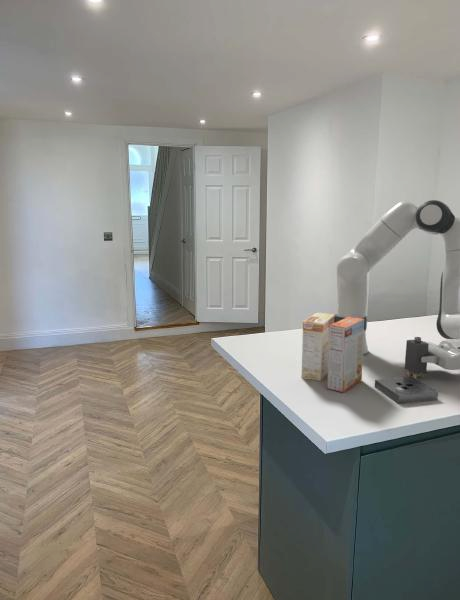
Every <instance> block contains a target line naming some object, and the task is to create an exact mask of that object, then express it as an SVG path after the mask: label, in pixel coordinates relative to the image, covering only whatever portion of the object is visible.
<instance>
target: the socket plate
mask: <svg viewBox="0 0 460 600" xmlns="http://www.w3.org/2000/svg"><path fill="white" fill-rule="evenodd" d="M374 388H375V389H377V391H380V392H381V393H382V394H383V395H385V396H387V398H389V399H390V400H392V401H394V402H395V403H396V404H398V405H400V404H402V405H403V404H409V403H420V402H427V401H428V402H430V401H438V400H439V391H438V390H437V389H434V388H433V387H431V386H430V385H428V384H426V383H424V382H422V381H421V380H419V379H418V378H416V379H415V378H414V377H413V375H412V376H411V375H410V376H401V377H391V378H390V377H389V378H380V379H374Z"/></svg>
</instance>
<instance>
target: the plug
mask: <svg viewBox="0 0 460 600" xmlns="http://www.w3.org/2000/svg"><path fill="white" fill-rule="evenodd" d="M426 342H427V341H426ZM426 342H423V340H422V337H421V336H415V337H414V339H406V344H405V345H406V346H405V358H404V359H405V360H404V369H405V370H406V375H407V376H408V377H410V376H411V373H412V377H414V378H415V379H417V377H421V374H427V369H428V368H427V367H428V362H421V361H419V359H420V358H419V357H420V356H428V347H429V344H428V343H426Z"/></svg>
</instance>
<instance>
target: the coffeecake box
mask: <svg viewBox="0 0 460 600" xmlns="http://www.w3.org/2000/svg"><path fill="white" fill-rule="evenodd" d="M334 314H335V313H334ZM334 314H332V313H325V312H315V313H314V314H312V315H311V316H309V317H308V318H307V319H305V320H303V321H302V344H301V345H302V347H301V348H302V349H301V350H302V353H301V379H305V380H311V379H312V380H313V381H317V382H321V381H322V380H323V379H324V378H325V377H327V376H328V345H329V325H331V324H333V323H334V317H335V315H336V314H335V315H334Z"/></svg>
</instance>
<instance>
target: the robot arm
mask: <svg viewBox="0 0 460 600" xmlns="http://www.w3.org/2000/svg"><path fill="white" fill-rule="evenodd" d="M414 229H418V230H421V231H423V232H425V233H427V234H431V235H440V236H442V238H443V240H444V246H445V263H444V269H443V271H442V273H441V276H440V277H441V278H440V289H439V290H440V291H439V308H438V309H439V310H438V316H437V318H436V330H437V332H438V334H439V335H440V336H441V337H442V338H443V339H444V340H442V341H440V343H439V344H435V343H433V342H430V341H425V340H424V341H423V340H422V341H423V342H426V343H428V344H429V347H428V356H420V357H419V358H420V359H419V361H421V362H427V364H435V365H436V366H437V367H440V368H442V369H444V370H448V371H456V370H457V371H458V370H459V371H460V310H459V295H460V294H459V291H460V217H455V215H454V213H453V212H452V210H451V209H450V207H449V206H448V205H447V204H445V202H443V201H440V200H436V199H432V200H427V201H425V202H423V203H422V204H420V206H416V204H414V203H412V202H410V201H407V200H402V201H399V202H397V204H395V205H394V206H393V207H391V208H389V210H387V211H386V212H385V213H383V215H382V216H381V217H380V218H379V219H378V220H376V222H375V223H374V224H373V226H371V227H370V228H369V229H368V231H366V232H365V233H364V234H363V236H362V237H361V238H360V239H359V240H358V241H357V242H356V243H355V245H353V247H352V248H351V249H350V250H348V252H347V253H346V254H345V255H343V256H341V258H340V259H339V260H338V261H337V264H336V288H337V306H336V308H337V309H336V313H334V312H332V313H331V314H334V315H335V317H334V323H336V322H338V321H340V320H342V319H345V318H347V317H355V318H361V319H364V339H363V355H365V354H368V353H369V349H368V345H367V344H368V343H367V337H366V336H367V335H366V334H367V333H366V332H367V328H368V317H367V302H368V301H367V299H368V289H367V288H368V286H367V285H368V283H367V282H368V273H369V272H371V270H372V269H373V268H374V267H375V266H377V264H378V263H379V262H380V261H382V260H383V259H384V257H386V256H387V255H388V253H390V252H391V250H393V249H394V248H395V247H396V246H397V245H398V244H399V243H400V242H401V241H402V240H403V239H404V238H405V237H406V236H407V235H408V234H409V233H410V232H412V231H413V230H414ZM445 339H446V340H445Z"/></svg>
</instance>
